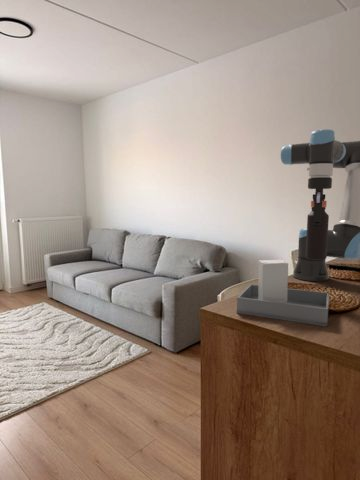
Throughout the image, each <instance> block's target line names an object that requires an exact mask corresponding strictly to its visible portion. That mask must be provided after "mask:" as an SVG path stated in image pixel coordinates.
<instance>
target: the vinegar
mask: <svg viewBox="0 0 360 480" xmlns="http://www.w3.org/2000/svg"><path fill="white" fill-rule="evenodd" d="M310 207H311V211H310V212H309V213H308V214H307V218H306V219H307V220H306V223H307V224H306V228H307V238H306V258H308V259H314V260H324V259H327V258H328V257H327V240H328V230H329V219H330V217H329V216H330V215H329V214H328V213H327V212H326V208H327V200H324V201H322V217H321V223H322V225H321V226H313V219H314V201H313V200H311V201H310Z"/></svg>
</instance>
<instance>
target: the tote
mask: <svg viewBox="0 0 360 480" xmlns="http://www.w3.org/2000/svg"><path fill="white" fill-rule="evenodd" d="M329 300H330V293H329V292H323V291H313V290H306V289H299V288H298V289H296V288H288V290H287V303H280V302H272V301H265V300H258V284H252V283H250V284H249V285H248V286H247V287H246V288H245V289H244V290H243V291H242V292H241V293H240V294H239V295H238V296H237V297H236V313H237V314H242V315H247V316H255V317H261V318H267V319H268V318H269V319H275V320H281V321H288V322H295V323H301V324H308V325H315V326H321V327H328V321H329V317H328V316H329V304H330V303H329V302H330V301H329Z"/></svg>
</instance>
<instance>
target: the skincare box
mask: <svg viewBox="0 0 360 480" xmlns="http://www.w3.org/2000/svg"><path fill="white" fill-rule="evenodd" d="M288 281H289V262H287V261H286V260H283V259H282V258H281V259H260V260H258V282H257V285H258V300H265V301H272V302H280V303H287V290H288V285H289V283H288Z"/></svg>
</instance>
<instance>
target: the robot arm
mask: <svg viewBox="0 0 360 480" xmlns="http://www.w3.org/2000/svg"><path fill="white" fill-rule="evenodd" d="M335 139H336V137H335V131H334V130H333V129H328V128H327V129H326V128H325V129H324V128H323V129H317V130H313V131H312V132H311V133H310V139H309V142H305V143H304V142H303V143H294V144H293V143H292V144H286V145H283V147H282V148H281V150H280V160H281V163H282V164H283V165H309V166H308V167H306V171H308V179H307V188H308V189H309V190H315V192H314V194H312V201H314V219H313V226H321V225H322V223H321V217H322V201H326V200H325V199H326V194H324V190H330V189H331V188H332V186H333V184H332V183H333V178H332V176H333V174H334V173H333V172H334V168H335V169H344V170H345V172H346V173H347V176H346V182H345V185H344V186H345V187H344V193H343V196H342V203H341V207H340V212H339V217H338V221H337V223H335V224H333V228H332V229H328V240H327V258H337V259H343V260H344V259H345V260H358V259H360V140H355V141H343V142H341V141H339V140H335ZM306 238H307V227H304V228H301V229H300V230H299V234H298V250H297V251H298V253H297V261H296V264H295V267H294V269H293V274H292V277H293V278H295V279H297V280H301V281H307V282H309V281H310V282H326V281H328V280H329V279H330V277H329V276H330V272H329V269H328V267H327V261H326V259H327V258H326V259H324V260H314V259H308V258H306Z"/></svg>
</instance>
